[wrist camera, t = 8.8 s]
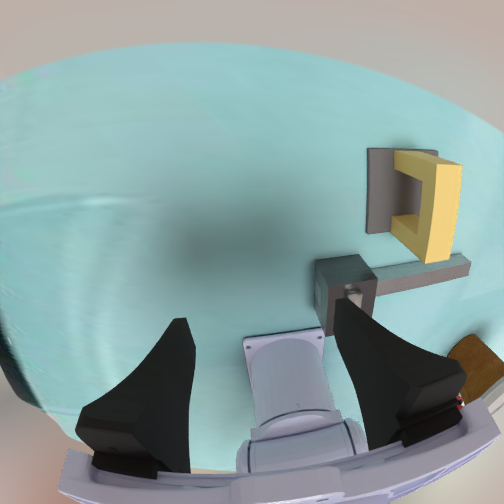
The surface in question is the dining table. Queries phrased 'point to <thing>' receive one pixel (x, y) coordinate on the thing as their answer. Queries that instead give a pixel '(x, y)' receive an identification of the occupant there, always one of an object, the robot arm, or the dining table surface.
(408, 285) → the grey block with bar
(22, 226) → the dining table surface
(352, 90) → the dining table surface
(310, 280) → the dining table surface
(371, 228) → the rubber mat
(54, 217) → the dining table surface
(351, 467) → the robot arm
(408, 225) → the yellow pull handle
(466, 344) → the disposable coffee cup
